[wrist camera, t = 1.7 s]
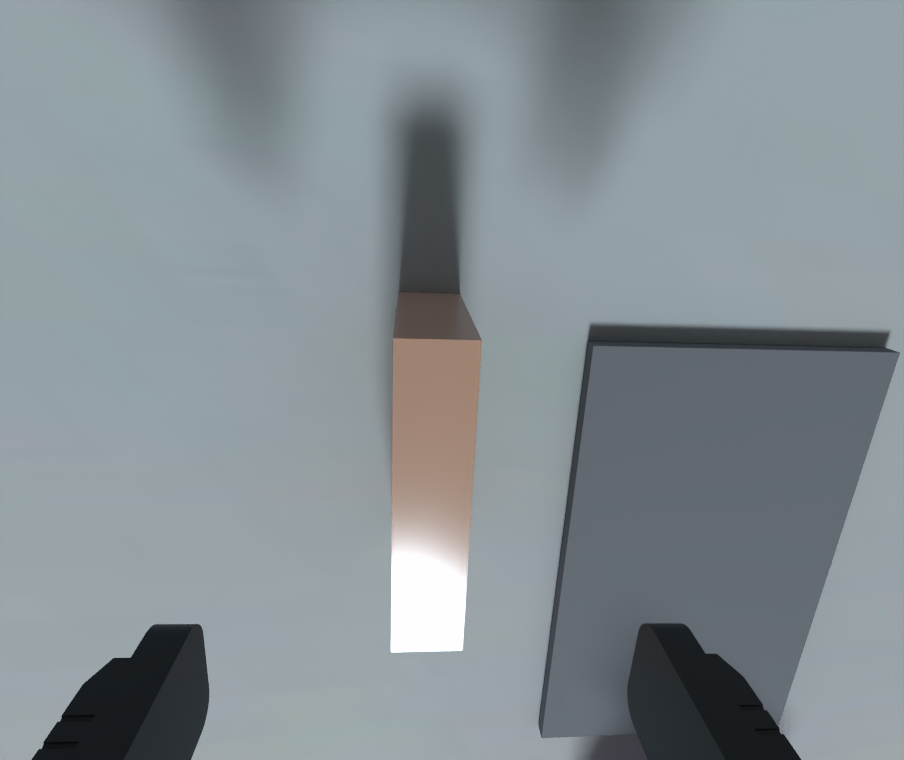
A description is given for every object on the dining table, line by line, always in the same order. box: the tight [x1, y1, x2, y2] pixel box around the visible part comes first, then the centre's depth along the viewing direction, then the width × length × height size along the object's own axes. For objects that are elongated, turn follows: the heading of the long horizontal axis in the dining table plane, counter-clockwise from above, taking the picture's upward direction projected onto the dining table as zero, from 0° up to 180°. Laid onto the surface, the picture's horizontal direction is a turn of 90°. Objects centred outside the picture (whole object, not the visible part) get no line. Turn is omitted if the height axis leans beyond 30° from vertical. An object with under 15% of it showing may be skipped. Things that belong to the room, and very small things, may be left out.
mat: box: [539, 341, 900, 738], centre depth 22 cm, size 18×11×1 cm, turn 177°
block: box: [391, 292, 482, 652], centre depth 16 cm, size 9×2×6 cm, turn 177°
